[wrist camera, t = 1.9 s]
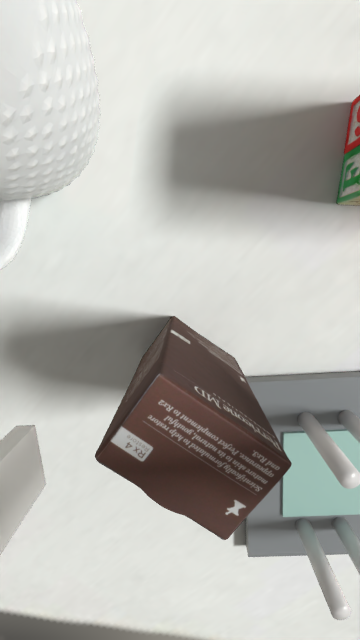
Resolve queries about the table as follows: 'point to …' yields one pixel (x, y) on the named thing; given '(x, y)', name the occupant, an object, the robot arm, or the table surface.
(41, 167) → the mug
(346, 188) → the stack of blocks
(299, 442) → the grey pegged stand
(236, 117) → the table surface
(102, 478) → the table surface
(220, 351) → the box
